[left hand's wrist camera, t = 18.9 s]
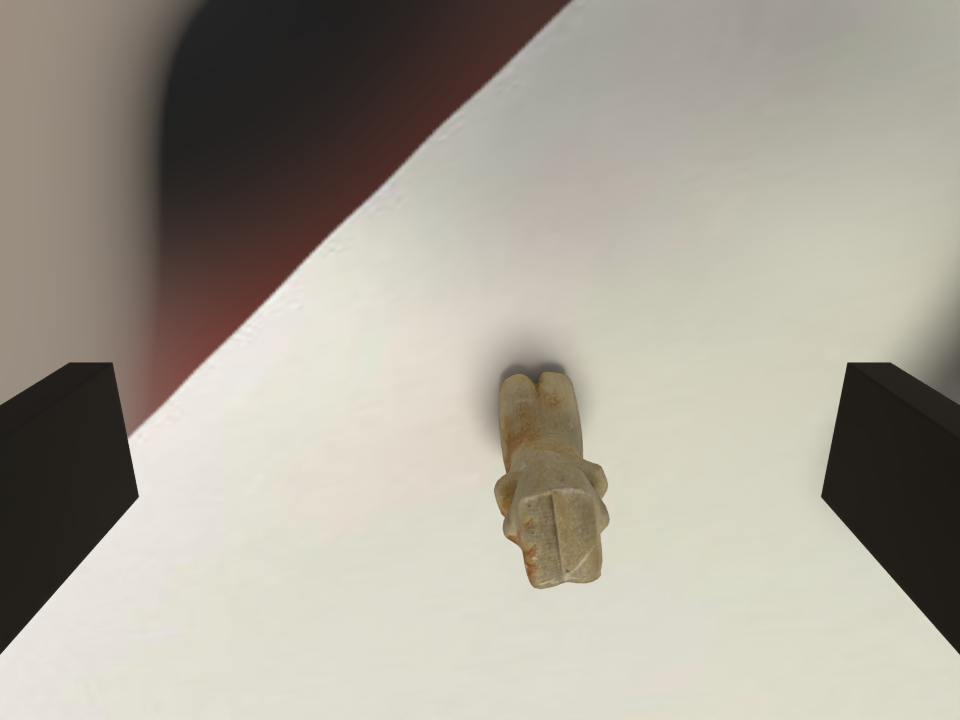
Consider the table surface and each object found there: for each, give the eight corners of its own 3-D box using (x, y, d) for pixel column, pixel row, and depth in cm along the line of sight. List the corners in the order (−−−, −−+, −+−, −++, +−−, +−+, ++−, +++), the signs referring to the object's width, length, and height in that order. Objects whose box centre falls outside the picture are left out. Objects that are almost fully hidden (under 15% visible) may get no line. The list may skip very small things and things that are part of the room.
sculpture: (582, 362, 42) (633, 488, 28) (583, 465, 45) (630, 627, 31) (488, 367, 43) (492, 494, 28) (494, 469, 45) (500, 633, 31)
